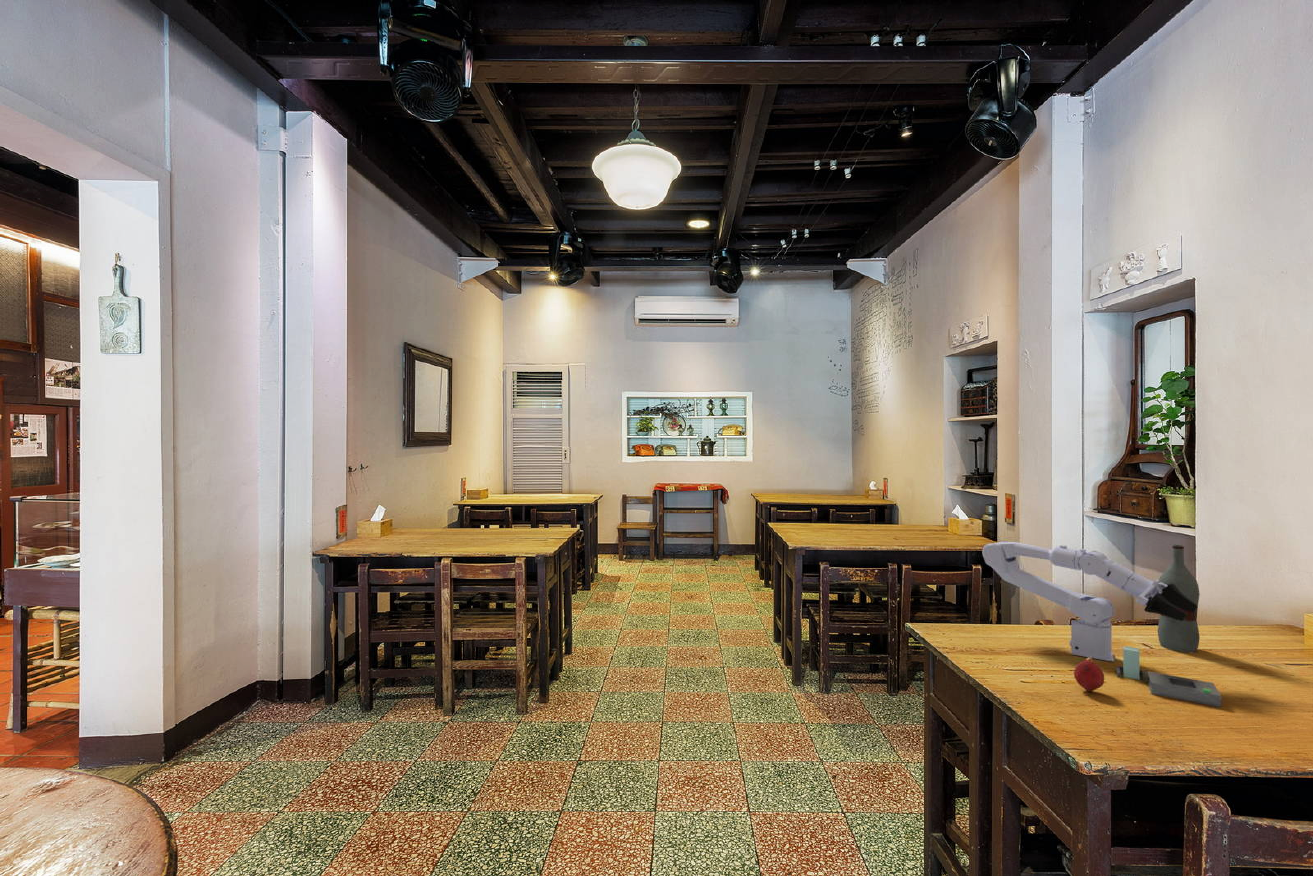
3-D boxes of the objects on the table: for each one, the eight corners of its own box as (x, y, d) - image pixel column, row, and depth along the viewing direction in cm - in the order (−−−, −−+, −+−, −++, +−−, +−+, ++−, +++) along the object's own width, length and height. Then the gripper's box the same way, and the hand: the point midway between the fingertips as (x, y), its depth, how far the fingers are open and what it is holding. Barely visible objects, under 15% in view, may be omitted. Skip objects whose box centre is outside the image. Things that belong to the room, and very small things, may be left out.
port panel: (1151, 693, 138) (1151, 680, 138) (1147, 681, 145) (1147, 669, 145) (1221, 707, 131) (1220, 693, 131) (1213, 694, 138) (1213, 680, 138)
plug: (1124, 676, 148) (1124, 649, 148) (1123, 673, 151) (1123, 646, 151) (1139, 679, 147) (1139, 651, 147) (1138, 676, 149) (1138, 648, 149)
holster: (1117, 677, 148) (1117, 672, 148) (1116, 670, 153) (1116, 665, 153) (1146, 682, 145) (1146, 677, 145) (1144, 675, 149) (1144, 670, 149)
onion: (1095, 698, 135) (1095, 663, 135) (1068, 689, 140) (1068, 655, 140) (1109, 694, 138) (1109, 660, 138) (1082, 685, 143) (1082, 652, 143)
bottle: (1183, 654, 165) (1183, 548, 166) (1149, 643, 174) (1149, 543, 175) (1208, 652, 167) (1208, 547, 168) (1173, 641, 176) (1173, 542, 177)
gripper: (1125, 576, 152) (1187, 609, 142) (1147, 563, 160) (1208, 593, 150) (1113, 597, 155) (1173, 631, 145) (1135, 584, 163) (1194, 615, 153)
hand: (1190, 613), depth 147 cm, fingers open, 7 cm apart
